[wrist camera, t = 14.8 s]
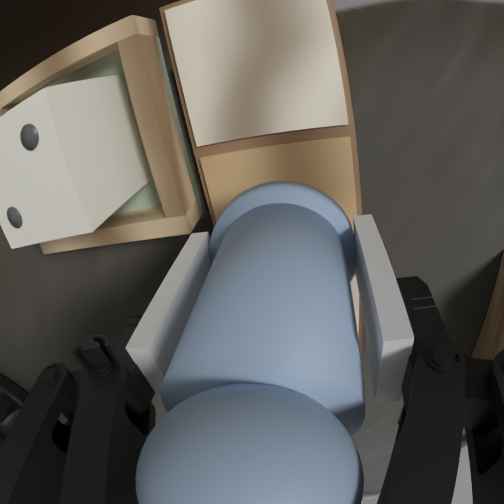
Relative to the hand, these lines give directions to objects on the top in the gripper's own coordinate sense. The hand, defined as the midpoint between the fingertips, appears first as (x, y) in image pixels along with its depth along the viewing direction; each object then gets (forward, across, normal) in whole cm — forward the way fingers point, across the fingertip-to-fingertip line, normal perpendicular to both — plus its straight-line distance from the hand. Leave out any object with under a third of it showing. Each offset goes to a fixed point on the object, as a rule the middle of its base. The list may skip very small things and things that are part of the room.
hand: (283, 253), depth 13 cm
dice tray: (+4, -10, +6) cm, 13 cm away
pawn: (0, 0, 0) cm, 0 cm away
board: (+4, 0, 0) cm, 4 cm away
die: (+4, -10, +6) cm, 12 cm away
